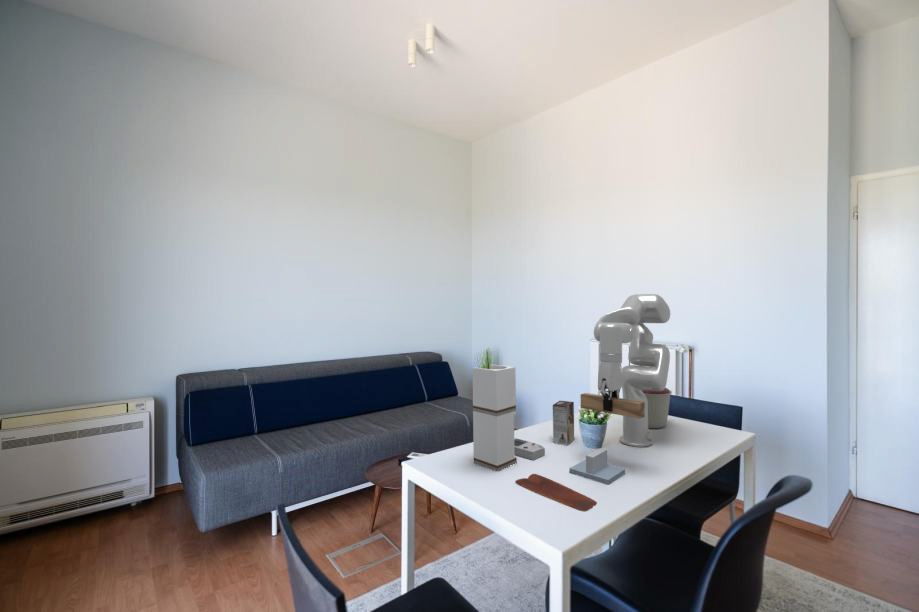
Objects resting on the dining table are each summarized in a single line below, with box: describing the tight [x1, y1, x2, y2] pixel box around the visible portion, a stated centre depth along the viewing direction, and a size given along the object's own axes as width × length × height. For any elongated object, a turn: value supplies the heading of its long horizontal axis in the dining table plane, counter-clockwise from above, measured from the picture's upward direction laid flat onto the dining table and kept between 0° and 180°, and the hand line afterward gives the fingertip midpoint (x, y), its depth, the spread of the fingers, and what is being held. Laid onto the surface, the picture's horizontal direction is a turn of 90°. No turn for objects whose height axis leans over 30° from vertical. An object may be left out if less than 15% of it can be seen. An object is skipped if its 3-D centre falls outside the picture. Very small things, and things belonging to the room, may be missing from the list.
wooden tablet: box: [514, 473, 598, 512], centre depth 132 cm, size 27×10×2 cm, turn 38°
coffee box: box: [552, 400, 575, 446], centre depth 179 cm, size 9×6×16 cm
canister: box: [642, 387, 673, 429], centre depth 200 cm, size 18×18×21 cm
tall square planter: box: [471, 363, 518, 472], centre depth 156 cm, size 11×11×35 cm
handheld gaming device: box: [514, 437, 546, 461], centre depth 166 cm, size 9×15×4 cm, turn 46°
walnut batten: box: [580, 392, 645, 419], centre depth 153 cm, size 4×22×5 cm, turn 44°
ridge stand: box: [568, 447, 626, 486], centre depth 146 cm, size 12×14×7 cm
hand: (610, 409), depth 153 cm, fingers closed on walnut batten, 4 cm apart
